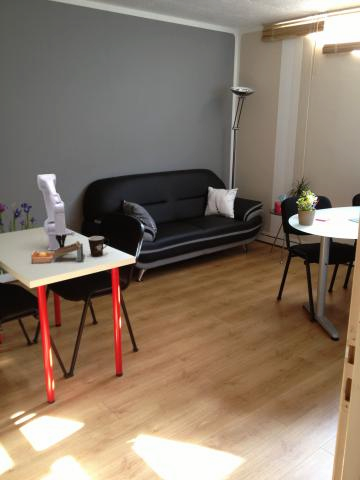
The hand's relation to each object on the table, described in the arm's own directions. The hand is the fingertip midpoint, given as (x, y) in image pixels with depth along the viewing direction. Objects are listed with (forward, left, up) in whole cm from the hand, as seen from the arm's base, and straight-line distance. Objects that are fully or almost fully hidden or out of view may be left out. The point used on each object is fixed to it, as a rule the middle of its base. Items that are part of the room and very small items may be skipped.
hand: (62, 248), depth 246 cm
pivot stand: (+8, +11, -4) cm, 14 cm away
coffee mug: (+2, +21, -4) cm, 21 cm away
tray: (+8, -9, -4) cm, 13 cm away
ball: (+8, -9, -2) cm, 13 cm away
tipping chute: (+5, +4, 0) cm, 7 cm away
